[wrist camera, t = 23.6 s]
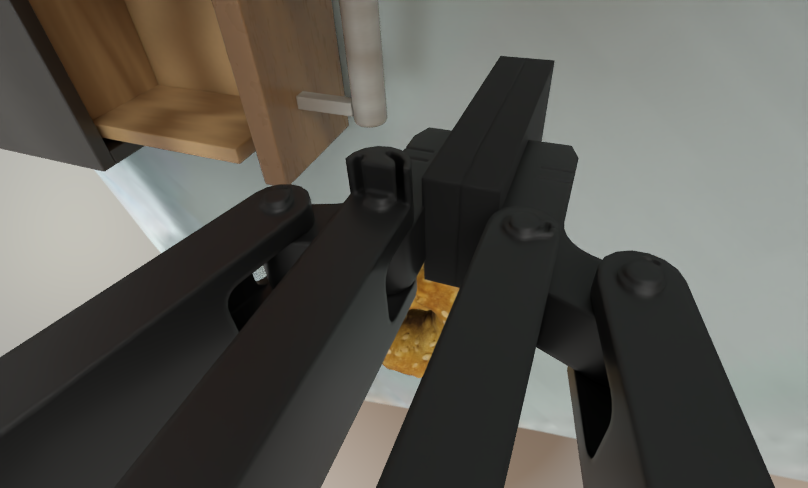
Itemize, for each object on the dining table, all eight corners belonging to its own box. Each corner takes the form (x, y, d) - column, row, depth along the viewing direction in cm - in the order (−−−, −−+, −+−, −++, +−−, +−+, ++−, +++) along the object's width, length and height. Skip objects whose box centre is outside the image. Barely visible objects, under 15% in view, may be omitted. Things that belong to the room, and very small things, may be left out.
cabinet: (117, -155, 21) (-73, -144, 16) (207, 105, 30) (104, 172, 24) (-67, -141, 25) (-268, -130, 20) (58, 83, 34) (-59, 135, 28)
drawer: (411, -153, 17) (326, -142, 12) (420, 136, 24) (369, 205, 20) (78, -135, 22) (-65, -123, 17) (171, 99, 29) (88, 148, 25)
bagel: (530, 332, 32) (516, 391, 29) (406, 343, 38) (383, 392, 35) (464, 220, 28) (438, 274, 24) (337, 254, 34) (304, 301, 31)
